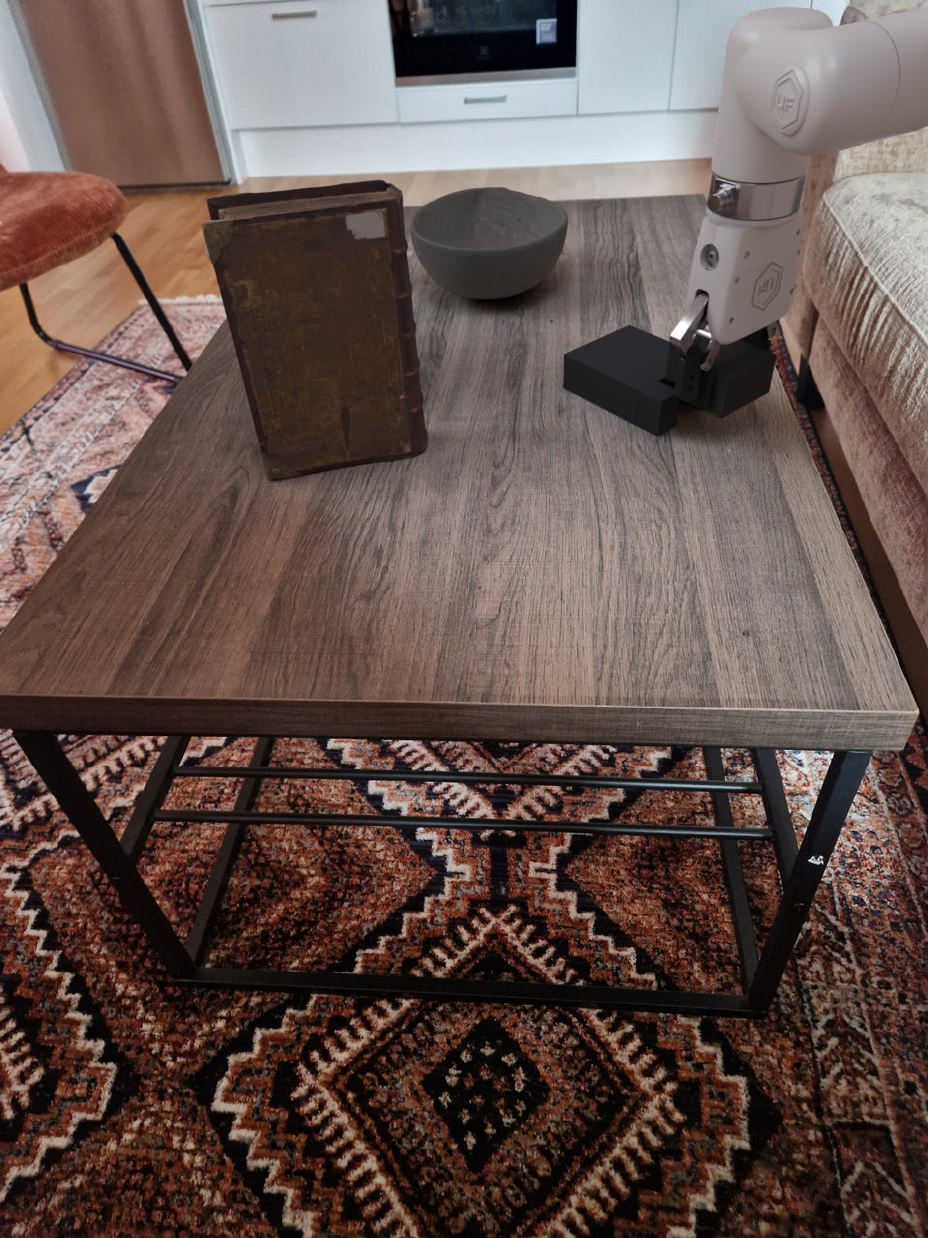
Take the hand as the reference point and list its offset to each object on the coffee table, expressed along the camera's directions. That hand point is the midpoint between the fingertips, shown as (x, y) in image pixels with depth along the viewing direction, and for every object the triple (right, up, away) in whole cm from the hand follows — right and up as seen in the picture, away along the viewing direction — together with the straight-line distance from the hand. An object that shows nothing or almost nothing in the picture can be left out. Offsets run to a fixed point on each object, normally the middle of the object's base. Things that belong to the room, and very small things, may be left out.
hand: (722, 386), depth 82 cm
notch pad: (-6, +2, +9) cm, 11 cm away
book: (-37, -6, +5) cm, 38 cm away
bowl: (-21, +22, +32) cm, 44 cm away
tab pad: (-1, 0, +1) cm, 2 cm away
